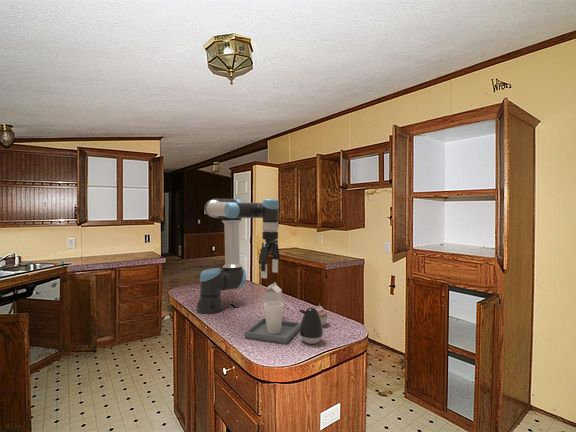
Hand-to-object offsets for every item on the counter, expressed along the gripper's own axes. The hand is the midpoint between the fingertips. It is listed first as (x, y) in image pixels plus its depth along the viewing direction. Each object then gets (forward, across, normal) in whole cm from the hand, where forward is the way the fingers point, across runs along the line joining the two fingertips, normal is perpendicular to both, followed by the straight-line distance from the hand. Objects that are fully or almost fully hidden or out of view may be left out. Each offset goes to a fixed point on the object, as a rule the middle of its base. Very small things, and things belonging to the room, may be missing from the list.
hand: (269, 275), depth 159 cm
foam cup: (+26, -3, -4) cm, 26 cm away
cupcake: (+27, +16, -21) cm, 37 cm away
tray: (+27, -4, -4) cm, 27 cm away
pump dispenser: (+27, -6, -23) cm, 36 cm away
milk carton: (+27, +15, +4) cm, 32 cm away
